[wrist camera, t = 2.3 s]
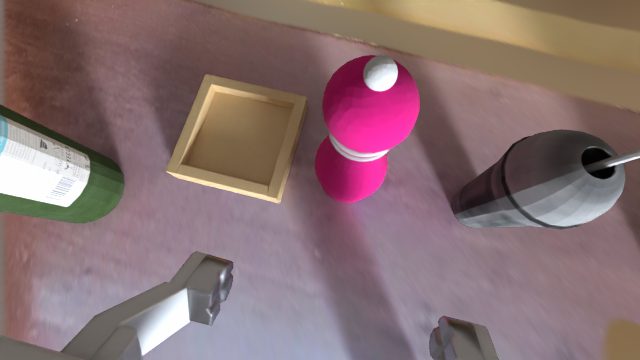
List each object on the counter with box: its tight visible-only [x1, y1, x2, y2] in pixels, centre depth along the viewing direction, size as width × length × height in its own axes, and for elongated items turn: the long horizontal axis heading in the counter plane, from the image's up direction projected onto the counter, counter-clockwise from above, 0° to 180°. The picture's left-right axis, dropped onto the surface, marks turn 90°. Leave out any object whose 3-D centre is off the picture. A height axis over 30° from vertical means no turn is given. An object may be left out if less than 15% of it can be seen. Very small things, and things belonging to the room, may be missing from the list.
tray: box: [166, 74, 308, 203], centre depth 34 cm, size 12×12×2 cm
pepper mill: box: [315, 55, 420, 202], centre depth 24 cm, size 7×7×20 cm
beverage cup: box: [452, 130, 640, 229], centre depth 23 cm, size 7×7×20 cm
